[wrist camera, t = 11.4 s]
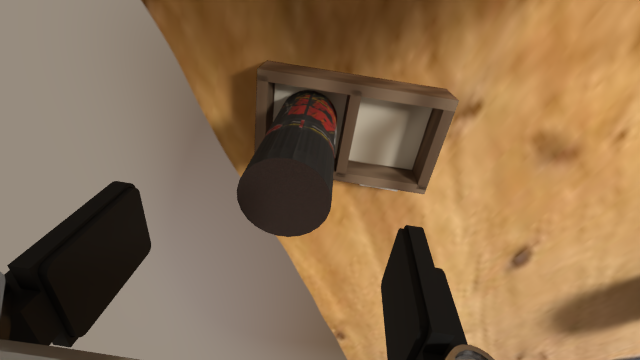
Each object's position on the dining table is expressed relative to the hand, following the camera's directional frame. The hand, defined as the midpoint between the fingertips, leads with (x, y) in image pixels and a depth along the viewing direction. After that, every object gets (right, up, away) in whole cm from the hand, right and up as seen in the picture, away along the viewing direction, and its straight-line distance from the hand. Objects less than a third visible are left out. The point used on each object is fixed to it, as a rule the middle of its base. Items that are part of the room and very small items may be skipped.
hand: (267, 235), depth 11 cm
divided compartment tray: (+5, +8, +22) cm, 24 cm away
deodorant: (+1, +8, +21) cm, 23 cm away
